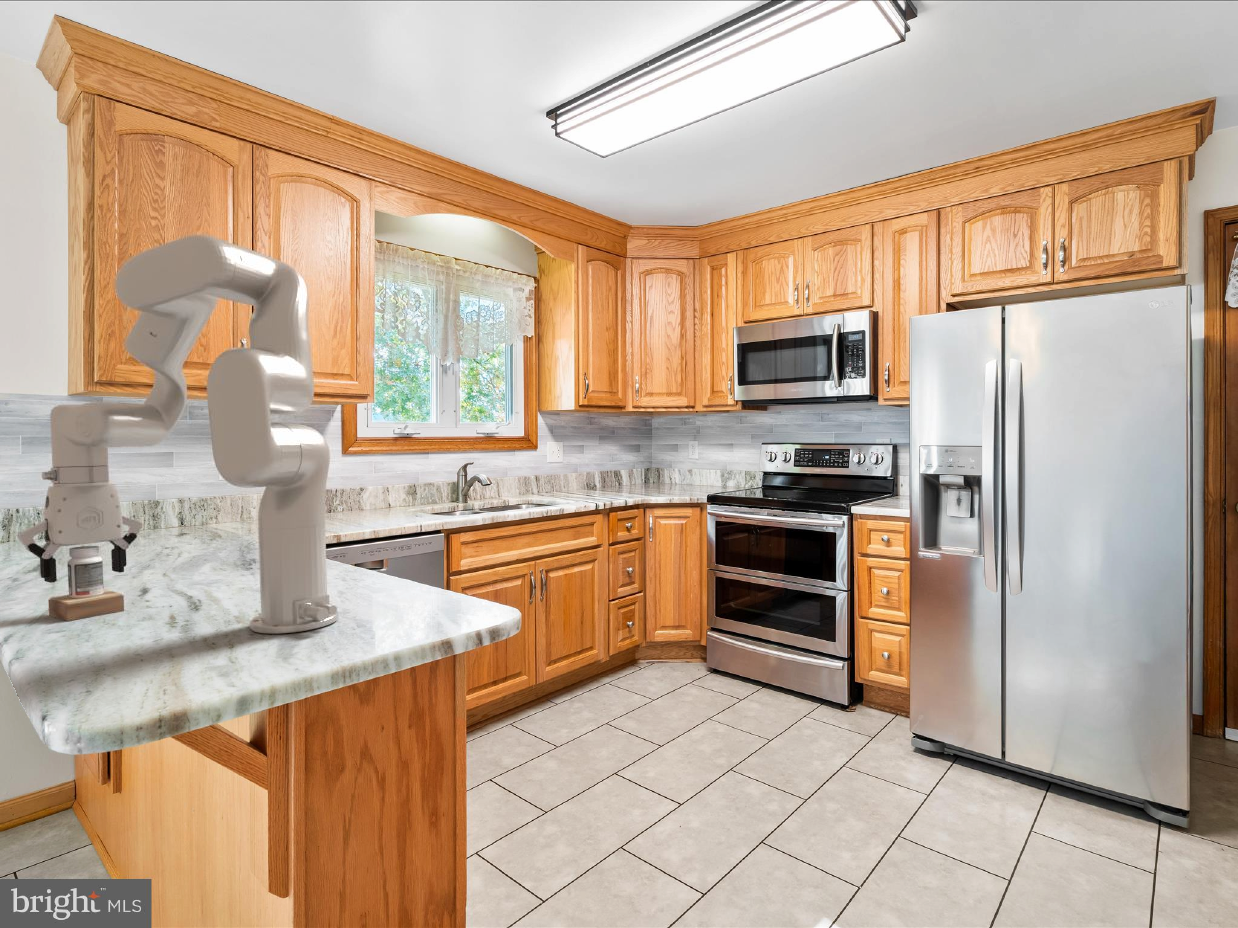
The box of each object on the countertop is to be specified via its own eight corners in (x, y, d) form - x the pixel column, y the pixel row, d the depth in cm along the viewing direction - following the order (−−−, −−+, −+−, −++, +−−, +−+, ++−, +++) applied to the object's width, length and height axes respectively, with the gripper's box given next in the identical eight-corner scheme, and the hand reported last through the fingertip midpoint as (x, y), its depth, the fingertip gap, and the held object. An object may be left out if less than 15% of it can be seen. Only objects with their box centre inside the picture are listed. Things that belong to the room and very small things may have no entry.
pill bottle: (110, 592, 118) (109, 545, 118) (86, 598, 114) (85, 549, 113) (86, 592, 119) (84, 545, 119) (61, 598, 114) (59, 549, 114)
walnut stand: (124, 610, 118) (123, 593, 118) (67, 621, 111) (67, 603, 111) (104, 605, 122) (103, 588, 122) (49, 615, 115) (48, 597, 115)
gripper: (24, 480, 106) (29, 588, 107) (148, 474, 121) (152, 570, 121) (7, 479, 110) (12, 583, 111) (129, 474, 125) (133, 566, 126)
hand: (85, 576), depth 116 cm, fingers open, 9 cm apart
